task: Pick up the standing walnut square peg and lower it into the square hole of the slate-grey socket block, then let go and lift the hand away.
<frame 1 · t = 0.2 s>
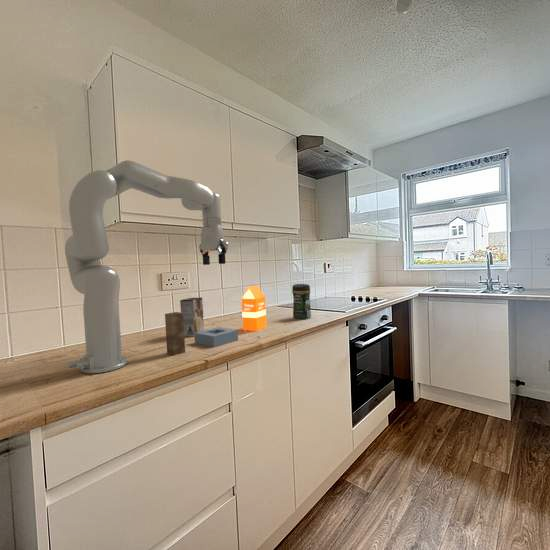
hand: (214, 264, 126), 31 cm above the worktop, tool pointing down, fingers open, 9 cm apart
orange juice: (254, 329, 140), on the worktop
coffee box: (193, 334, 134), on the worktop
peg: (176, 352, 105), on the worktop
coffee jar: (302, 318, 163), on the worktop
socket block: (216, 341, 119), on the worktop
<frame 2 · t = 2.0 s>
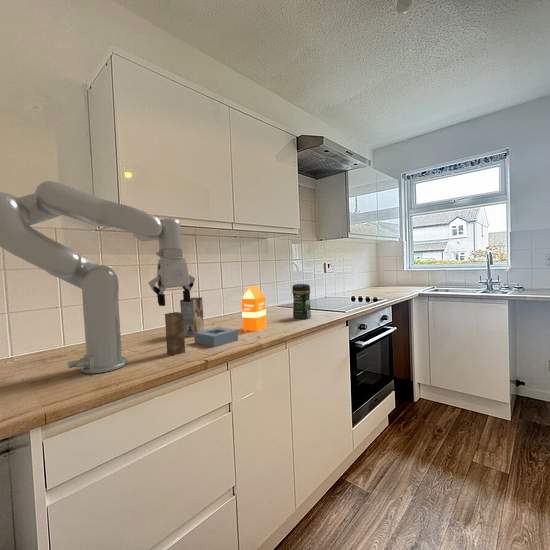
hand: (174, 303, 105), 17 cm above the worktop, tool pointing down, fingers open, 9 cm apart
nothing on the worktop moved.
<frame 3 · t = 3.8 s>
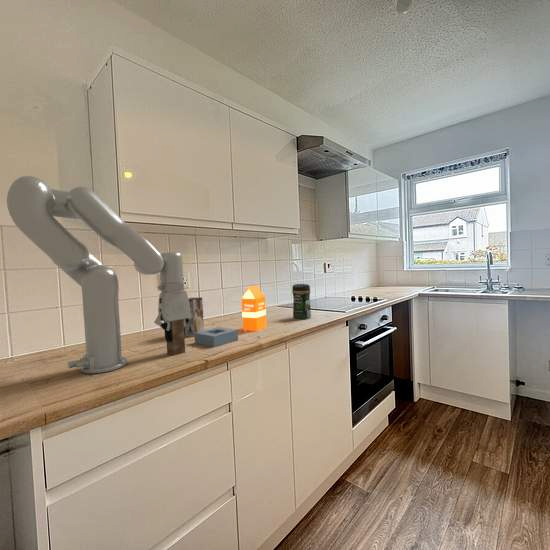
hand: (175, 339, 105), 5 cm above the worktop, tool pointing down, fingers closed on peg, 4 cm apart
peg: (176, 352, 105), on the worktop, touching gripper
everything else where it was.
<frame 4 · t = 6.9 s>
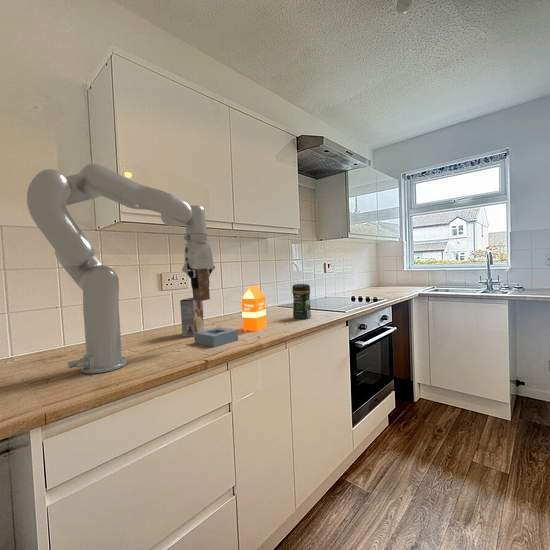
hand: (200, 287, 113), 22 cm above the worktop, tool pointing down, fingers closed on peg, 4 cm apart
peg: (201, 299, 114), point 17 cm above the worktop, touching gripper
everything else where it was.
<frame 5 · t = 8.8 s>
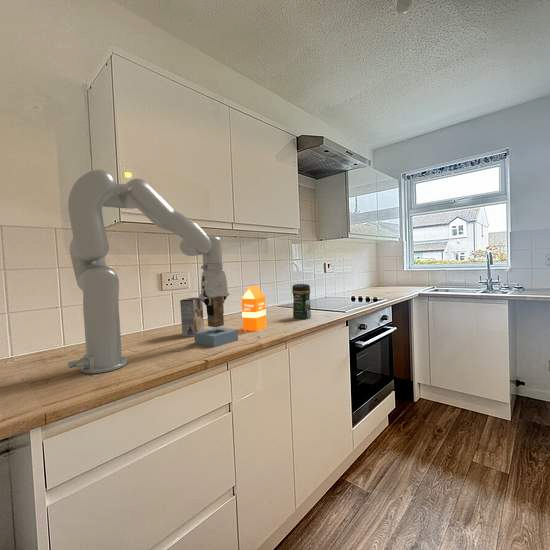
hand: (215, 313, 119), 11 cm above the worktop, tool pointing down, fingers closed on peg, 4 cm apart
peg: (216, 325, 119), point 6 cm above the worktop, touching gripper
everything else where it was.
when the fingers open (6 cm above the worktop, at t = 10.2 s): peg drops 1 cm, resting in socket block.
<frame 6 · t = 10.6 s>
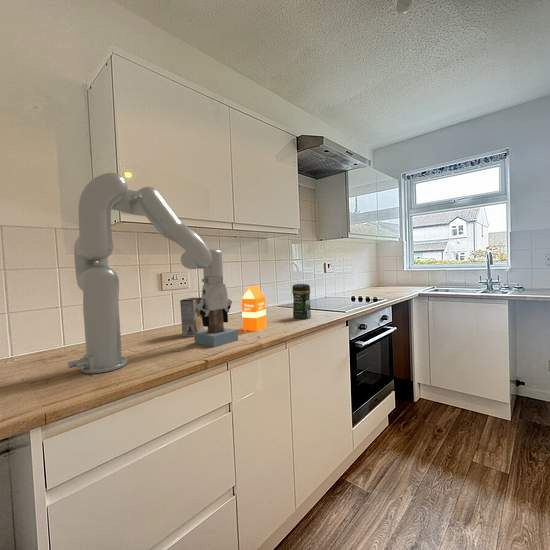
hand: (215, 324, 119), 7 cm above the worktop, tool pointing down, fingers open, 9 cm apart
peg: (216, 341, 119), resting in socket block
everything else where it was.
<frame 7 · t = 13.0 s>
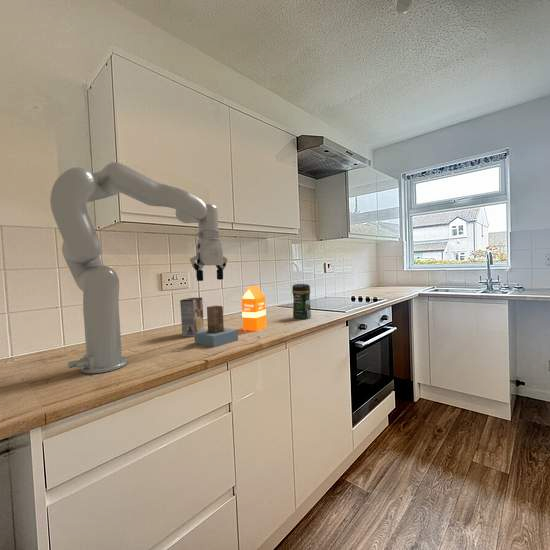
hand: (210, 280, 118), 24 cm above the worktop, tool pointing down, fingers open, 9 cm apart
nothing on the worktop moved.
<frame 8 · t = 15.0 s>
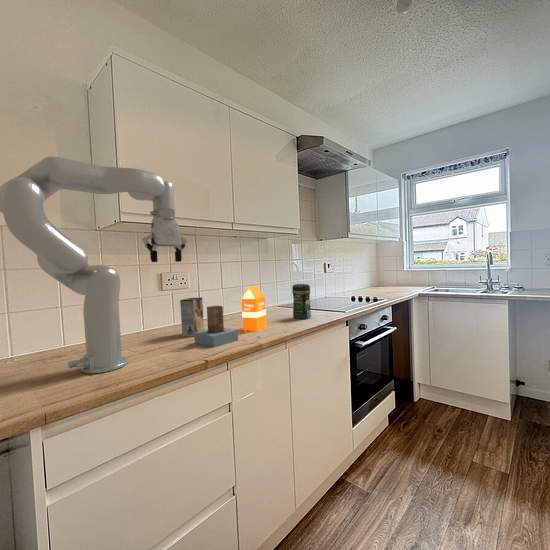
hand: (166, 261, 112), 32 cm above the worktop, tool pointing down, fingers open, 9 cm apart
nothing on the worktop moved.
at the end: peg 0.1 cm off-centre on the socket block, point 0.0 cm above the socket block's base; peg tilted 0°; the gripper is holding nothing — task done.
